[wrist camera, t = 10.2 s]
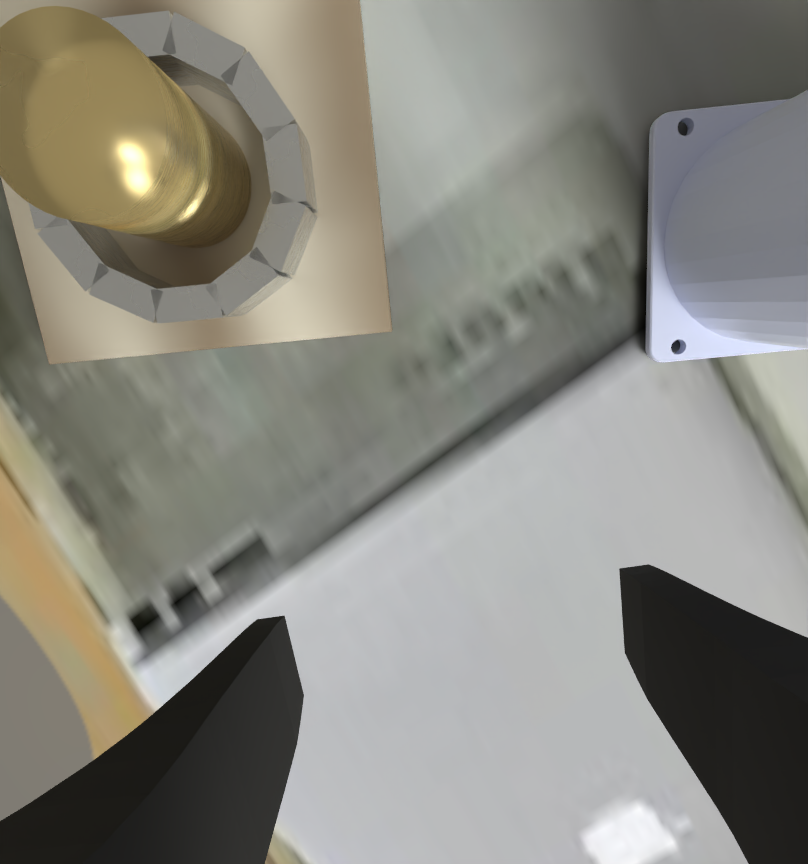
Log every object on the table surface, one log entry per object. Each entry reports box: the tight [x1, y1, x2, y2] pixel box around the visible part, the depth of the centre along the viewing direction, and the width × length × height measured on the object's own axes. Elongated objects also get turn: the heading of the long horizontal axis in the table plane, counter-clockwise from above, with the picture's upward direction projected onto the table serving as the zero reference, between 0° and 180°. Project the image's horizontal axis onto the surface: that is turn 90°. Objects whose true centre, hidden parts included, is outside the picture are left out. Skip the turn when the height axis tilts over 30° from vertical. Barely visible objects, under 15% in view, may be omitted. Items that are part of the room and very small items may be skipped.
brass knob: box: [0, 6, 251, 248], centre depth 14 cm, size 4×4×6 cm
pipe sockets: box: [28, 11, 318, 324], centre depth 15 cm, size 8×15×2 cm, turn 5°
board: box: [0, 0, 392, 364], centre depth 16 cm, size 12×20×1 cm, turn 5°
